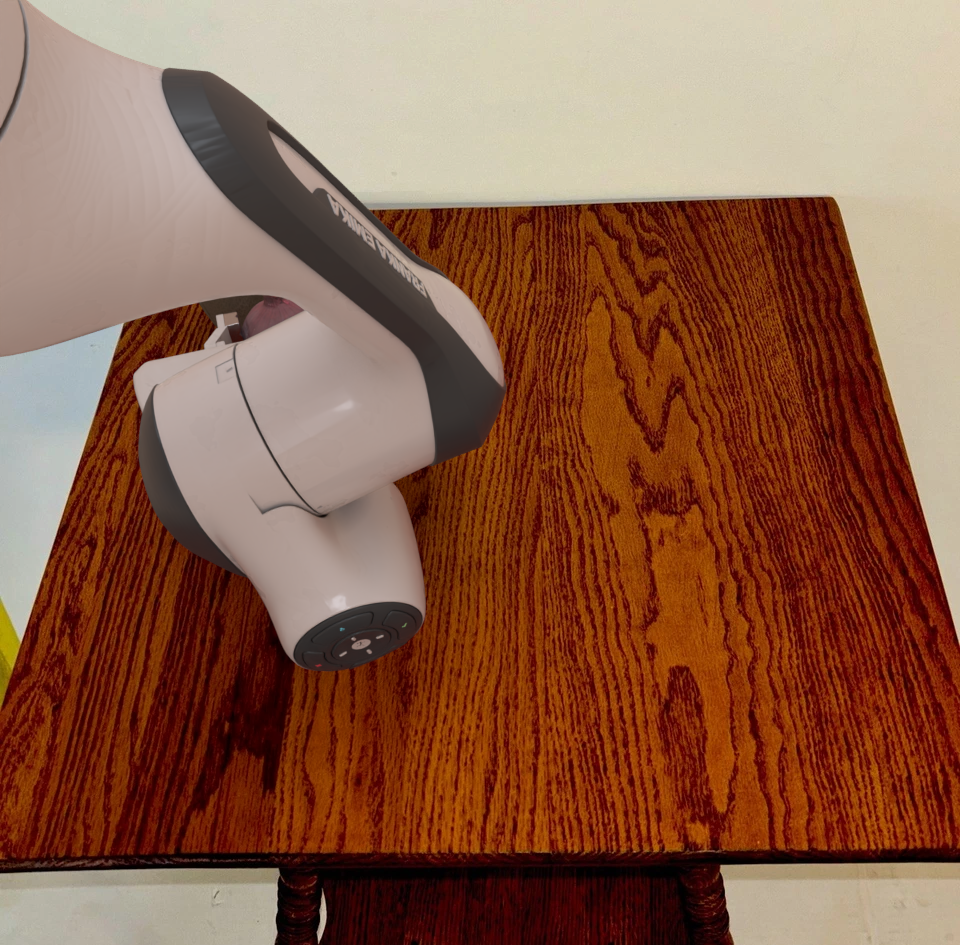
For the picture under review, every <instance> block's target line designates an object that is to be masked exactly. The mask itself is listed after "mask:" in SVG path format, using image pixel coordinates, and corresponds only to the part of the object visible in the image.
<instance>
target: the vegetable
mask: <svg viewBox="0 0 960 945" xmlns="http://www.w3.org/2000/svg"><path fill="white" fill-rule="evenodd" d="M263 297H264V300H263V301H261V302H259V303H258V304H257V305H255V306H254V307H253V308H252V309H251V311H250V312H249V313H248V315H247V317H246V319H245V321H244V323H243V326H242V334H243V338H244V340H246V339H248V338H250V337H252V336H254V335H256V334H258V333H260V332H262V331H264V330H266V329H268V328H270V327H272V326H274V325H276V324H278V323H280V322H282V321H284V320H286V319H288V318H290V317H292V316H294V315H296V314H298V313H300V312H302V311H304V309H302V308H301V307H300V306H298V305H297V304H295V303H294V302H292V301H290V300H288V299H285V298H282V297H276V296H270V295H263Z"/></svg>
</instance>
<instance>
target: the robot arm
mask: <svg viewBox="0 0 960 945" xmlns="http://www.w3.org/2000/svg"><path fill="white" fill-rule="evenodd" d="M243 295H270V296H276V297H282V298H285V299H288V300H290V301H292V302H294V303H295V304H297V305H298V306H300V307H301V308H302V309H304V311H302V312H300V313H298V314H296V315H294V316H292V317H290V318H288V319H286V320H284V321H282V322H280V323H278V324H276V325H274V326H272V327H270V328H268V329H266V330H264V331H262V332H260V333H258V334H256V335H254V336H252V337H250V338H248V339H246V340H244V338H243V334H242V329H241V325H240V321H239V318H238V314H237V311H235V312H230V313H225V314H220V315H216V320H217V325H218V328H217V327H216V328H215V329H214V330H213V332H212V333H211V335H210V336H209V337H208V339H207V340H206V341H205V343H204V344H203V347H204V349H200V350H196V351H195V350H194V351H191V352H186V353H182V354H177V355H173V356H168V357H164V358H158V359H153V360H149V361H145V362H144V363H143V364H142V365H141V366H140V367H138V369H137V370H136V371H135V372H134V374H133V377H132V379H133V380H132V381H133V388H134V392H135V396H136V400H137V403H138V405H139V408H140V410H141V418H140V424H139V432H138V433H139V434H138V449H137V452H138V462H139V469H140V474H141V477H142V481H143V484H144V488H145V492H146V494H147V496H148V499H149V502H150V505H151V507H152V509H153V511H154V513H155V514H156V517H157V518H158V519H159V521H160V522H161V524H162V525H163V526H164V528H165V529H166V531H168V533H169V534H170V535H171V537H173V538H174V539H175V540H176V541H177V542H178V543H179V545H181V546H182V547H184V548H185V549H186V550H187V551H189V552H191V553H192V554H194V555H196V556H198V557H200V558H201V559H204V560H206V561H207V562H210V563H212V564H214V565H215V566H218V567H219V568H222V569H223V570H225V571H227V572H230V573H232V574H235V575H237V576H240V577H243V578H248V580H249V581H250V582H251V584H252V585H253V587H254V588H255V590H256V592H257V593H258V595H259V597H260V599H261V601H262V602H263V604H264V607H265V608H266V609H267V612H268V615H269V617H270V619H271V623H272V624H273V627H274V629H275V632H276V635H277V637H278V640H279V642H280V644H281V646H282V649H283V651H284V653H285V654H286V655H287V656H288V658H289V659H290V660H291V661H292V662H293V663H294V664H296V665H297V666H299V667H300V668H302V669H306V670H309V671H313V672H314V671H315V672H328V673H329V672H331V673H332V672H337V671H345V670H353V669H356V668H359V667H361V666H365V665H366V664H369V663H372V662H373V661H376V660H378V659H380V658H382V657H384V656H387V655H389V654H390V653H393V652H394V651H396V650H398V649H400V648H402V647H403V646H405V645H406V644H407V643H408V642H409V641H410V640H411V639H412V638H414V637H415V635H416V634H418V632H419V631H420V629H421V628H422V626H423V624H424V622H425V619H426V609H427V608H426V607H427V605H426V604H427V603H426V601H427V600H426V590H425V589H426V588H425V580H424V573H423V568H422V562H421V558H420V557H421V556H420V553H419V546H418V542H417V538H416V533H415V531H414V526H413V524H412V520H411V516H410V512H409V509H408V506H407V504H406V501H405V499H404V496H403V495H402V493H401V491H400V490H399V488H398V487H397V485H395V482H397V481H399V480H401V479H403V478H405V477H407V476H410V475H411V474H413V473H415V472H418V471H419V470H421V469H423V468H426V467H428V466H429V467H435V466H436V465H438V464H442V463H444V462H447V461H449V460H451V459H454V458H456V457H459V456H463V455H464V454H467V453H470V452H472V451H474V450H477V449H480V448H483V446H484V444H485V442H486V440H487V439H488V437H489V435H490V433H491V431H492V429H493V427H494V425H495V423H496V420H497V418H498V416H499V414H500V411H501V409H502V406H503V403H504V400H505V396H506V394H507V390H508V388H507V383H506V380H505V371H504V365H503V361H502V357H501V354H500V350H499V348H498V345H497V342H496V340H495V338H494V335H493V334H492V331H491V329H490V327H489V325H488V323H487V322H486V320H485V319H484V317H483V315H482V314H481V312H480V310H479V309H478V308H477V306H476V305H475V304H474V303H473V301H472V300H471V299H470V297H469V296H468V295H467V294H466V293H465V292H464V291H463V290H462V289H460V288H459V287H458V286H457V285H456V284H455V283H453V282H452V281H451V279H449V277H448V276H447V275H446V274H445V273H444V272H443V271H442V270H440V269H439V268H437V267H436V266H435V265H433V264H431V263H429V262H428V261H426V260H424V259H422V257H419V256H418V255H416V253H414V252H413V251H412V250H411V249H410V248H409V247H408V246H406V244H405V243H403V242H402V241H401V240H400V239H399V238H398V237H397V236H396V235H395V234H394V233H393V232H392V231H391V230H390V229H389V228H388V227H387V226H386V225H385V224H384V223H383V222H382V221H381V220H380V219H379V218H378V217H377V216H376V215H375V214H374V213H373V212H372V211H371V210H370V209H369V208H368V207H367V206H366V205H365V204H364V203H363V202H362V201H361V200H360V199H359V198H358V197H357V196H356V195H354V193H353V192H352V191H351V190H350V189H348V187H347V186H345V184H344V183H343V182H342V181H341V180H340V179H339V178H338V177H336V176H335V174H333V173H332V172H331V171H330V170H329V169H328V168H327V167H326V165H324V164H323V163H322V161H320V160H319V159H318V158H317V157H316V156H315V155H314V154H313V153H312V152H311V151H310V150H309V149H308V148H307V147H306V146H304V145H303V144H302V143H301V142H300V141H299V140H298V139H297V138H296V137H295V136H294V135H293V134H291V132H290V131H288V130H287V129H286V128H285V127H284V126H282V124H281V123H279V122H278V121H277V120H276V119H275V118H274V117H273V116H271V115H270V114H269V113H268V112H267V111H266V110H264V109H263V108H262V107H261V106H260V105H259V104H258V103H256V102H255V101H254V100H252V99H251V98H250V97H249V96H247V95H246V94H245V93H243V92H242V91H240V90H239V88H236V87H235V86H234V85H232V84H231V83H229V82H228V81H226V80H225V79H223V78H221V77H220V76H219V75H217V74H216V73H213V72H211V71H207V70H200V69H199V70H198V69H187V68H177V67H167V68H162V67H159V66H155V65H151V64H147V63H144V62H141V61H138V60H135V59H132V58H130V57H127V56H124V55H121V54H118V53H115V52H114V51H111V50H109V49H107V48H104V47H102V46H99V45H98V44H95V43H94V42H92V41H90V40H87V39H86V38H83V37H81V36H79V35H78V34H76V33H74V32H72V31H71V30H69V29H68V28H66V27H64V26H63V25H61V24H59V23H58V22H56V21H54V20H53V19H51V18H50V17H49V16H47V15H46V14H45V13H43V12H42V11H41V10H40V9H38V8H37V7H36V6H34V5H33V4H32V3H31V2H30V1H28V0H0V358H4V357H11V356H15V355H20V354H24V353H29V352H34V351H38V350H41V349H45V348H49V347H52V346H56V345H59V344H62V343H65V342H69V341H73V340H75V339H78V338H81V337H84V336H88V335H91V334H93V333H94V334H95V333H96V332H100V331H103V330H106V329H109V328H111V327H112V328H113V327H115V326H119V325H122V324H125V323H128V322H131V321H134V320H138V319H141V318H144V317H147V316H151V315H155V314H159V313H163V312H165V311H169V310H174V309H177V308H181V307H185V306H189V305H193V304H199V302H204V301H209V300H214V299H219V298H226V297H233V296H243Z"/></svg>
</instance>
